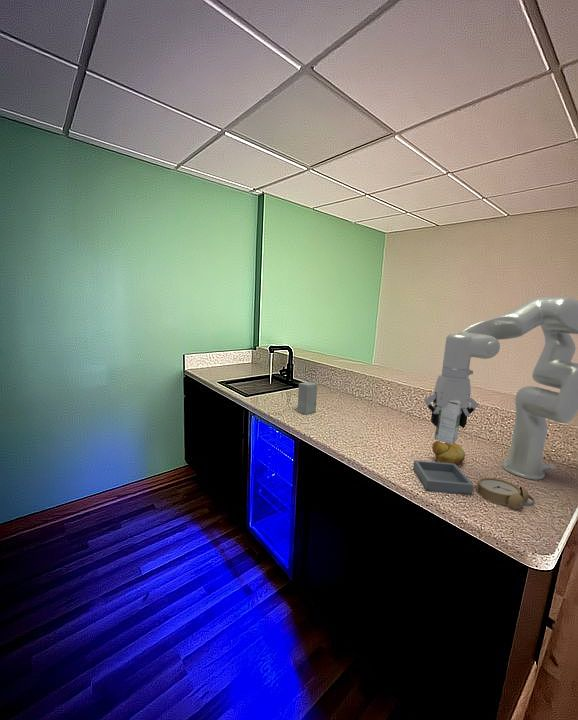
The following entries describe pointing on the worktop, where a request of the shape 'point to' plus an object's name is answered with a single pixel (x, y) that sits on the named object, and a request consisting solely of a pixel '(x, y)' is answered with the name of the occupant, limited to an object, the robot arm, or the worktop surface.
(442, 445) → the bread roll
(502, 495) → the alarm clock
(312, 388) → the skincare box
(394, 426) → the worktop surface
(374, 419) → the worktop surface
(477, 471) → the worktop surface
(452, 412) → the syrup box
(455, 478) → the tray
